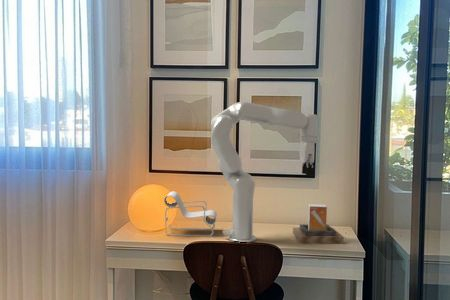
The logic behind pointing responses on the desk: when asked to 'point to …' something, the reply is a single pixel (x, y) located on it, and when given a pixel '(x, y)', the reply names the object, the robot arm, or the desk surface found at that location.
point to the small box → (317, 217)
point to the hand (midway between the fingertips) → (307, 174)
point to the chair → (190, 213)
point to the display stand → (317, 235)
